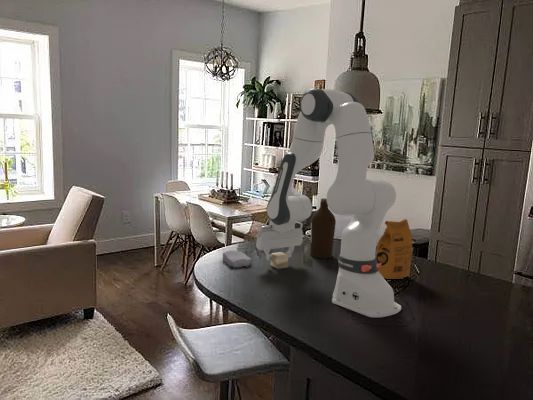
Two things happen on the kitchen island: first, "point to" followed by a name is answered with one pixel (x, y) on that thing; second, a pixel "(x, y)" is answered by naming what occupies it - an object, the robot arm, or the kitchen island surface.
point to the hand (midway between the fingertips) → (278, 258)
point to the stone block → (236, 259)
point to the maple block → (279, 260)
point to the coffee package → (395, 250)
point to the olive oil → (322, 231)
